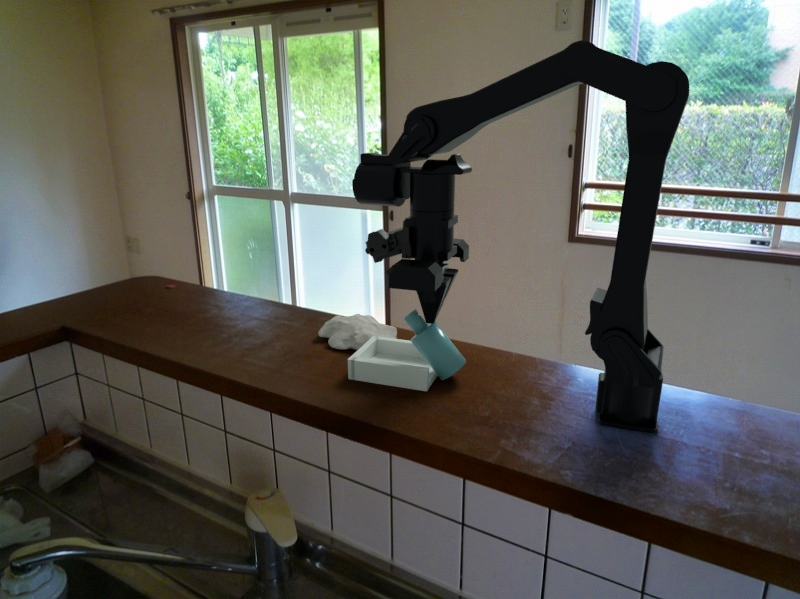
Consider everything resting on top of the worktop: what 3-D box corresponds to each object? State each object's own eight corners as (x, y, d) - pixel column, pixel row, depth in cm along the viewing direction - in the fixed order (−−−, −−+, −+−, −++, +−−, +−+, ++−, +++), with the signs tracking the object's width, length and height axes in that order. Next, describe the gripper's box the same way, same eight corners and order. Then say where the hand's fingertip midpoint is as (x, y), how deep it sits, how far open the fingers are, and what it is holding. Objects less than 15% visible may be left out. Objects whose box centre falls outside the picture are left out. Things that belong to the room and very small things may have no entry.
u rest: (445, 363, 82) (445, 345, 82) (426, 391, 74) (426, 370, 73) (373, 353, 86) (373, 335, 85) (348, 379, 78) (347, 359, 77)
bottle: (469, 356, 78) (425, 300, 78) (462, 368, 74) (415, 310, 74) (446, 371, 80) (403, 317, 80) (437, 384, 76) (392, 327, 76)
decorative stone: (305, 344, 91) (379, 373, 84) (303, 324, 89) (378, 352, 82) (346, 317, 99) (417, 342, 92) (345, 298, 98) (417, 322, 90)
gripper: (397, 197, 82) (398, 297, 87) (344, 216, 66) (348, 339, 70) (471, 200, 79) (467, 304, 83) (434, 222, 62) (432, 350, 67)
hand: (430, 322), depth 76 cm, fingers closed, pressing on bottle
